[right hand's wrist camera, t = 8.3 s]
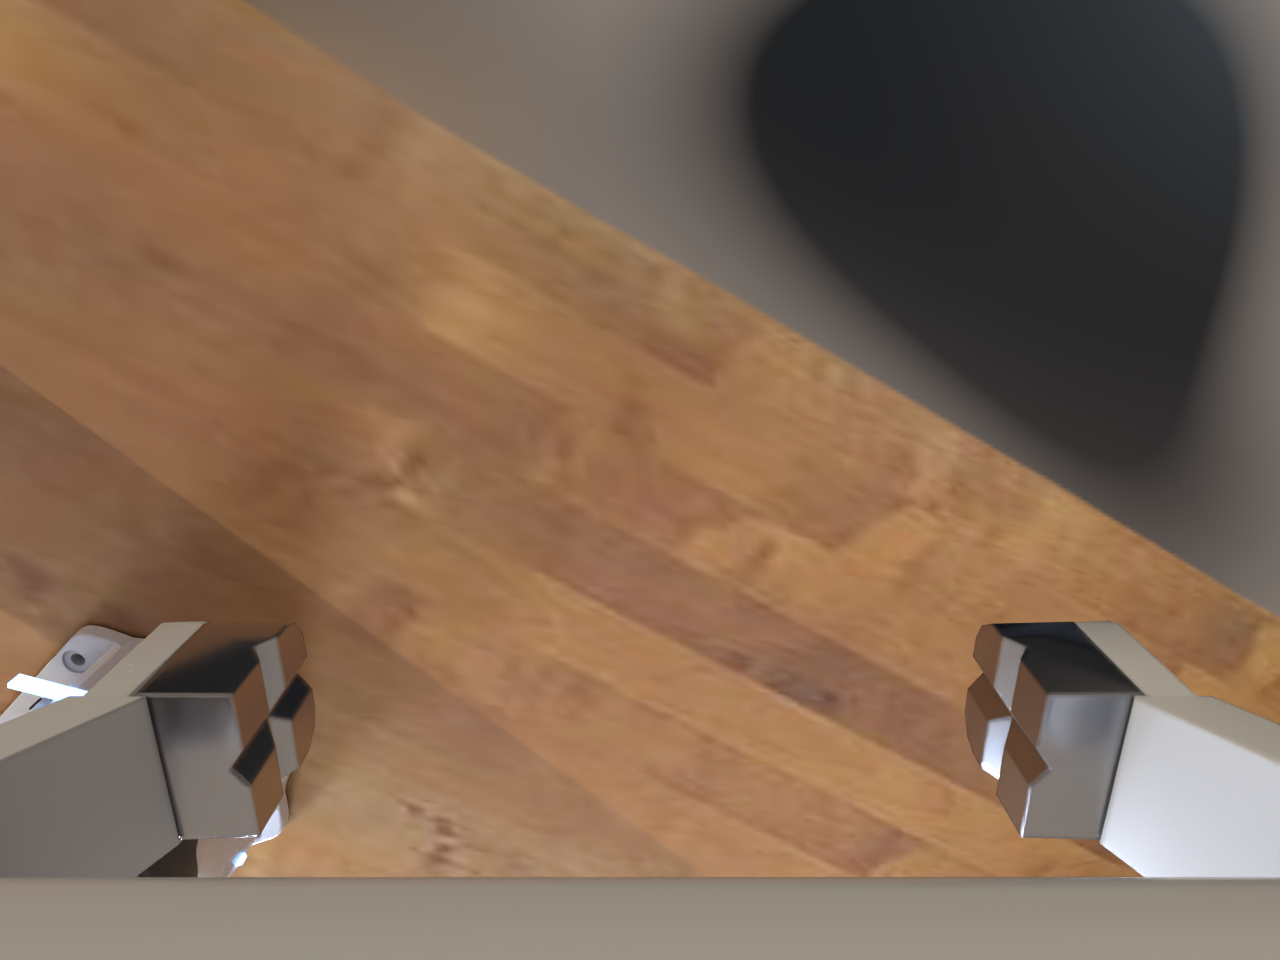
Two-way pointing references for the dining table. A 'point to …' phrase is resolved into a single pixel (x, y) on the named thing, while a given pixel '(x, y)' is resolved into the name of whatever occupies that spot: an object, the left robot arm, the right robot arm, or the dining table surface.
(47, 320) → the dining table surface
